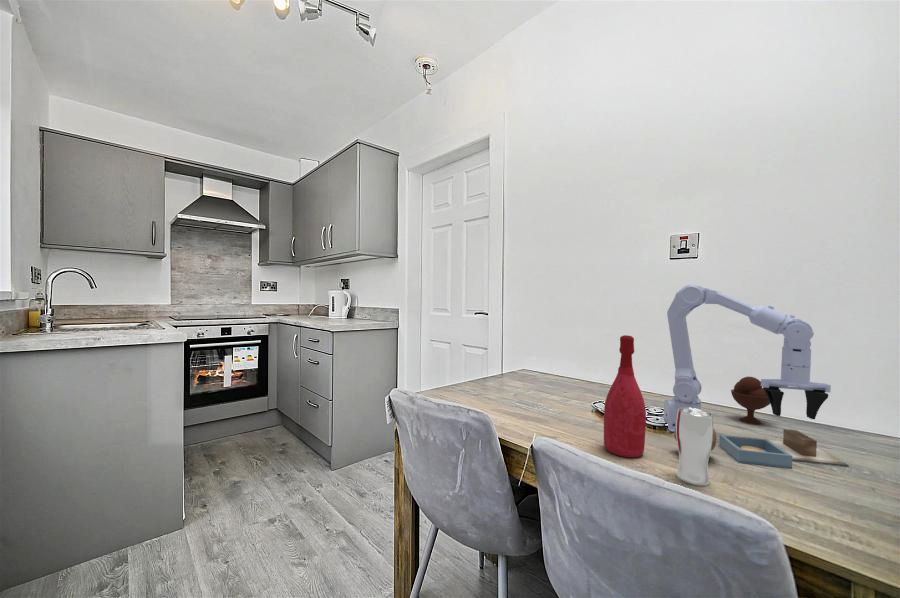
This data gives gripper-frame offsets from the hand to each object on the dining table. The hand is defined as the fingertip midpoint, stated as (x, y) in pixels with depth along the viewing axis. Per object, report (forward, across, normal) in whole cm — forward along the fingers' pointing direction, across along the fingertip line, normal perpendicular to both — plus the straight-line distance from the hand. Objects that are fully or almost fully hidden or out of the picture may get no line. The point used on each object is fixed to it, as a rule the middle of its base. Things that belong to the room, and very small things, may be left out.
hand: (793, 416), depth 102 cm
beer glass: (+10, -32, -26) cm, 42 cm away
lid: (+9, +1, -1) cm, 9 cm away
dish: (+9, -12, -7) cm, 16 cm away
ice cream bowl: (+10, +2, +26) cm, 28 cm away
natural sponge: (+10, -27, -12) cm, 31 cm away
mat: (+9, +1, -1) cm, 9 cm away
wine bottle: (+10, -44, -14) cm, 47 cm away
